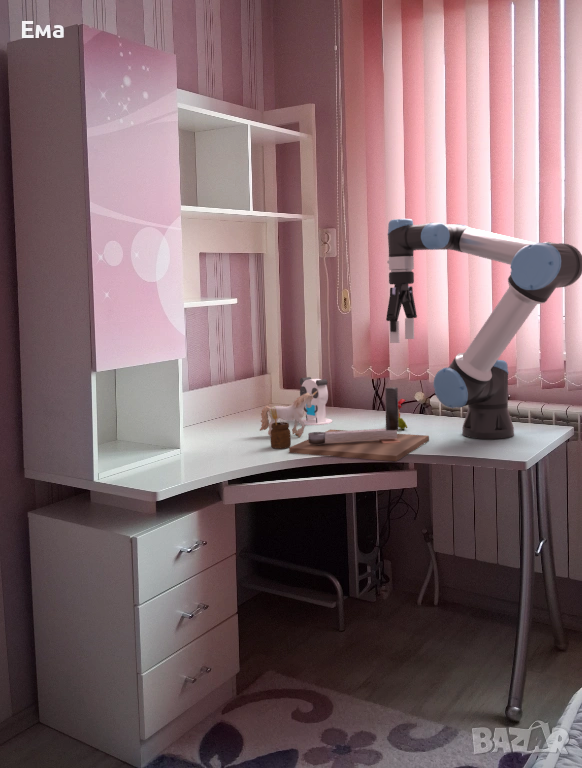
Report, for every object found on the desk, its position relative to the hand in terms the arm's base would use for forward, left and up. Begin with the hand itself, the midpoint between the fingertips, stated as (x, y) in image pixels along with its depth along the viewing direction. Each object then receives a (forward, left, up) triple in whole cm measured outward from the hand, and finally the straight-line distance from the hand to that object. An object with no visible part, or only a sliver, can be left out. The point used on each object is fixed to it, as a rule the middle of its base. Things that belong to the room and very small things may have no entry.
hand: (402, 340), depth 245 cm
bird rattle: (+5, -6, -29) cm, 30 cm away
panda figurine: (+35, -9, -29) cm, 46 cm away
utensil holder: (+27, +31, -29) cm, 50 cm away
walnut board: (+5, +23, -29) cm, 37 cm away
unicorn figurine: (+33, +13, -29) cm, 46 cm away
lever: (+6, +25, -26) cm, 37 cm away
